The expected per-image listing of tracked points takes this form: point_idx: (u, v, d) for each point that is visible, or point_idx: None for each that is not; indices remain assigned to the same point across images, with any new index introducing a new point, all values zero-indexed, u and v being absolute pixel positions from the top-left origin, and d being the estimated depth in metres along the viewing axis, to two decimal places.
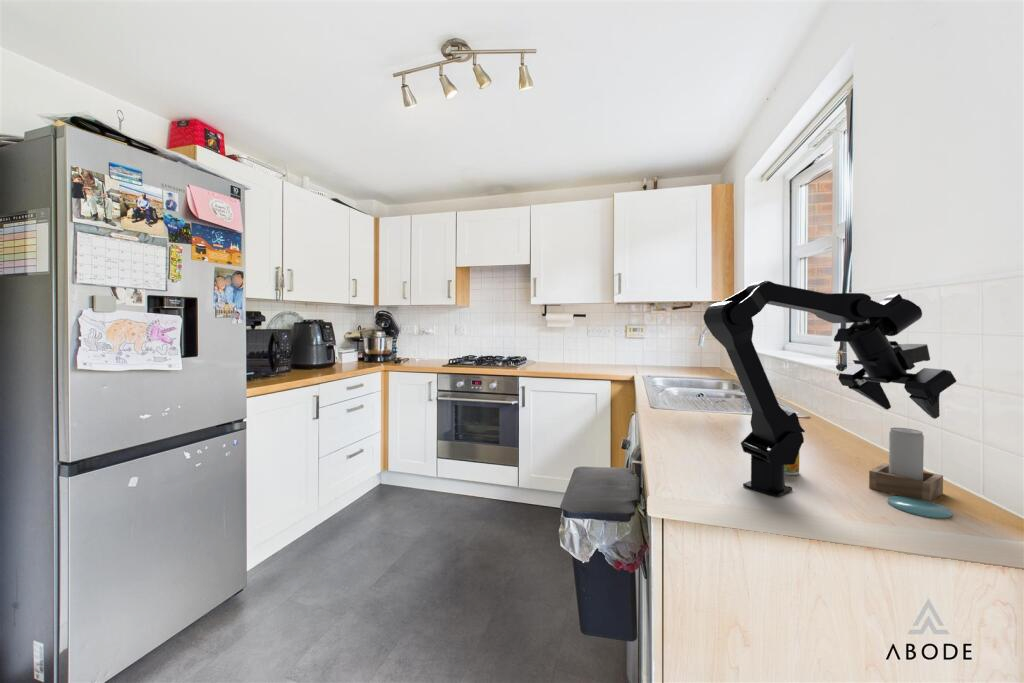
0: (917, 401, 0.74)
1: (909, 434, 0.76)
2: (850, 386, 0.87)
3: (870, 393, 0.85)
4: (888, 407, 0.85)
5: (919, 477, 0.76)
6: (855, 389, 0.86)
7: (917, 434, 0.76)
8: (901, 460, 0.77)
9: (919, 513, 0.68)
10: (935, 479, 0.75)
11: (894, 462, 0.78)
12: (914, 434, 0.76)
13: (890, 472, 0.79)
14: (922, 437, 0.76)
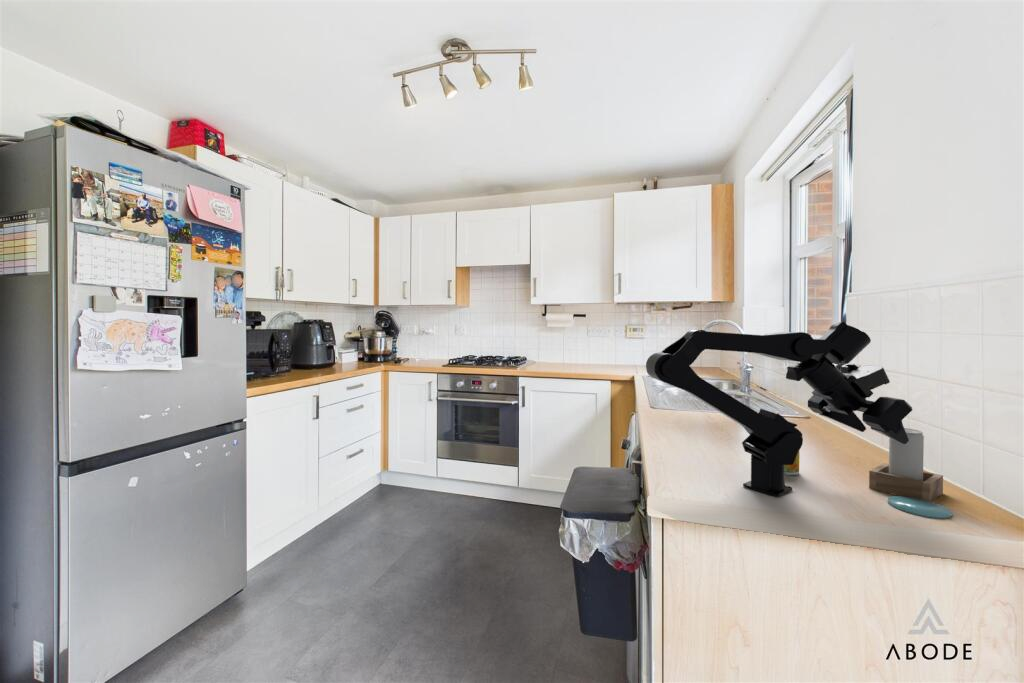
0: (879, 432, 0.73)
1: (909, 434, 0.76)
2: (820, 413, 0.85)
3: (841, 418, 0.83)
4: (863, 429, 0.83)
5: (919, 477, 0.76)
6: (825, 416, 0.85)
7: (917, 434, 0.76)
8: (901, 460, 0.77)
9: (919, 513, 0.68)
10: (935, 479, 0.75)
11: (894, 462, 0.78)
12: (914, 434, 0.76)
13: (890, 472, 0.79)
14: (922, 437, 0.76)
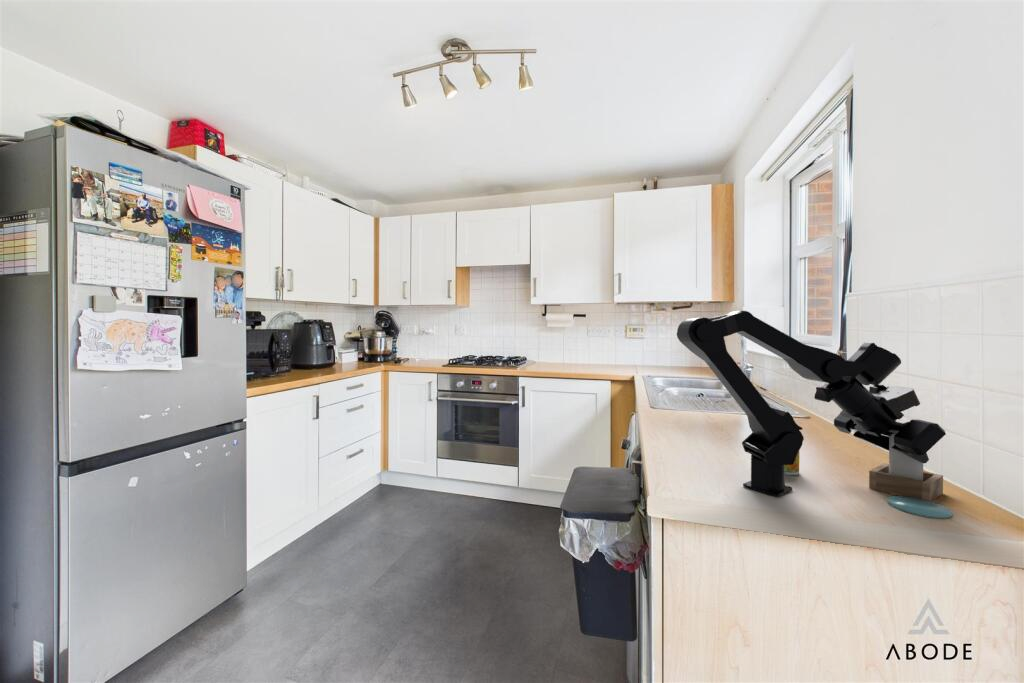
0: (900, 451, 0.74)
1: None
2: None
3: (877, 441, 0.81)
4: None
5: (919, 477, 0.76)
6: (860, 438, 0.82)
7: None
8: (901, 460, 0.77)
9: (919, 513, 0.68)
10: (935, 479, 0.75)
11: (894, 462, 0.78)
12: None
13: (890, 472, 0.79)
14: None
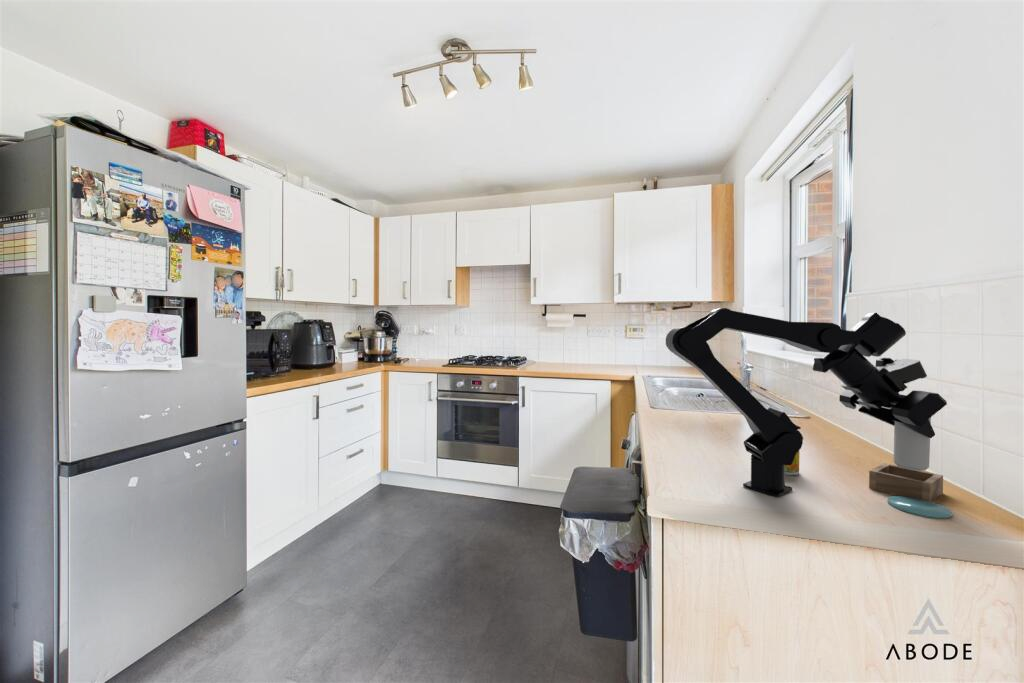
0: (901, 424, 0.72)
1: None
2: (852, 408, 0.83)
3: (882, 416, 0.79)
4: None
5: (924, 452, 0.73)
6: (865, 413, 0.80)
7: None
8: (905, 434, 0.74)
9: (919, 513, 0.68)
10: (935, 479, 0.75)
11: (898, 436, 0.75)
12: None
13: (894, 447, 0.76)
14: None
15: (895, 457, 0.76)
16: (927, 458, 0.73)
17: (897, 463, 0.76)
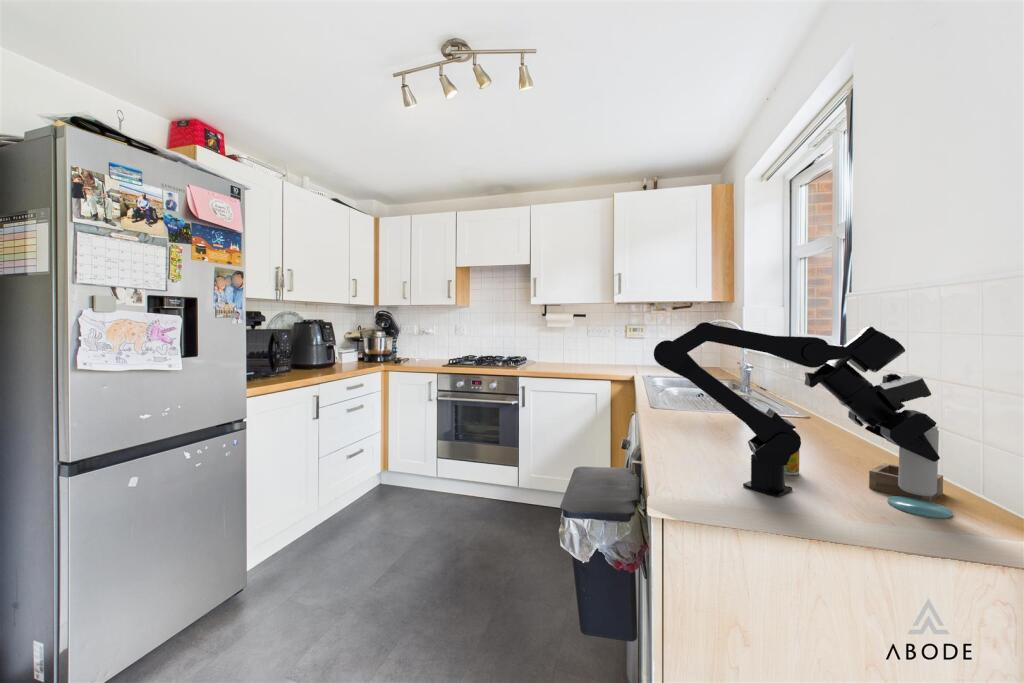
0: None
1: None
2: (860, 425, 0.79)
3: None
4: None
5: (928, 476, 0.68)
6: (870, 431, 0.76)
7: None
8: (907, 456, 0.70)
9: (919, 513, 0.68)
10: None
11: (901, 458, 0.71)
12: None
13: None
14: (934, 432, 0.68)
15: (898, 479, 0.72)
16: (932, 483, 0.68)
17: (900, 486, 0.71)
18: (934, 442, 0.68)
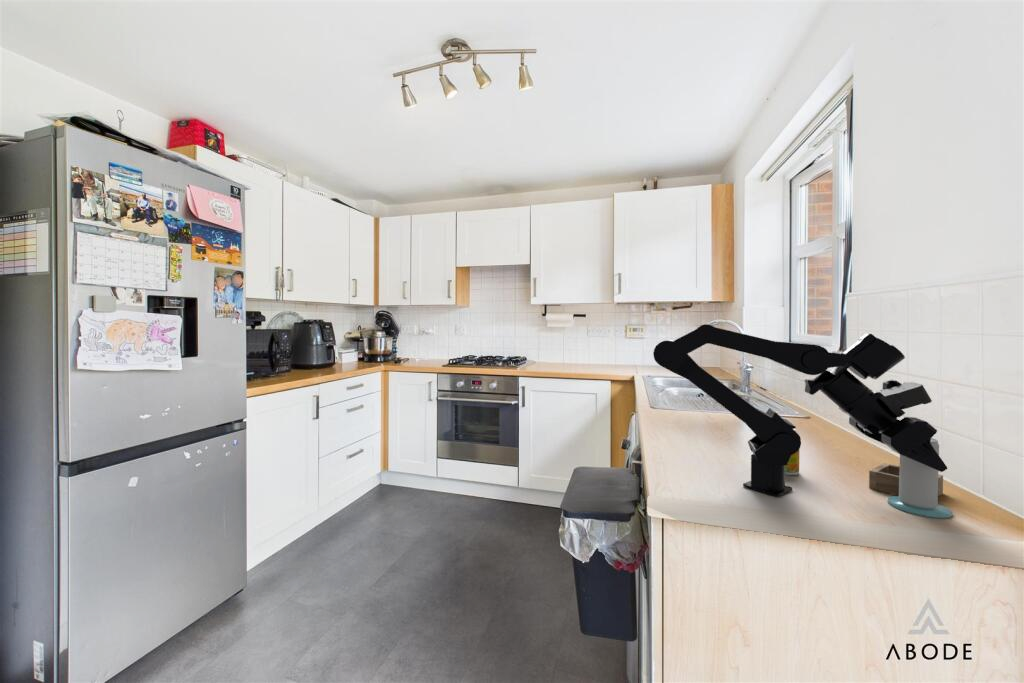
0: None
1: None
2: (861, 432, 0.79)
3: None
4: None
5: (929, 490, 0.68)
6: None
7: None
8: (907, 469, 0.70)
9: (919, 513, 0.68)
10: None
11: (901, 471, 0.71)
12: None
13: (899, 483, 0.72)
14: (934, 446, 0.68)
15: (899, 492, 0.72)
16: (932, 497, 0.68)
17: (901, 499, 0.71)
18: None
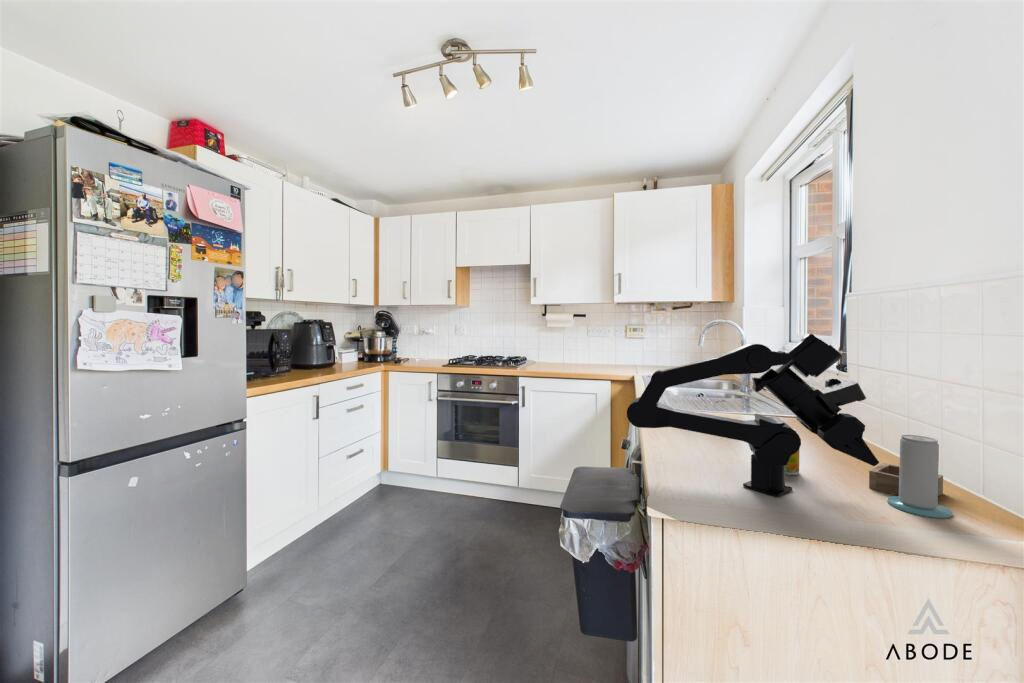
0: None
1: (916, 441, 0.69)
2: None
3: None
4: None
5: (928, 490, 0.68)
6: (811, 431, 0.81)
7: (926, 442, 0.68)
8: (907, 469, 0.70)
9: (919, 513, 0.68)
10: None
11: (901, 471, 0.71)
12: (922, 442, 0.68)
13: (899, 483, 0.72)
14: (934, 446, 0.68)
15: (899, 492, 0.72)
16: (932, 497, 0.68)
17: (900, 499, 0.71)
18: (934, 456, 0.68)
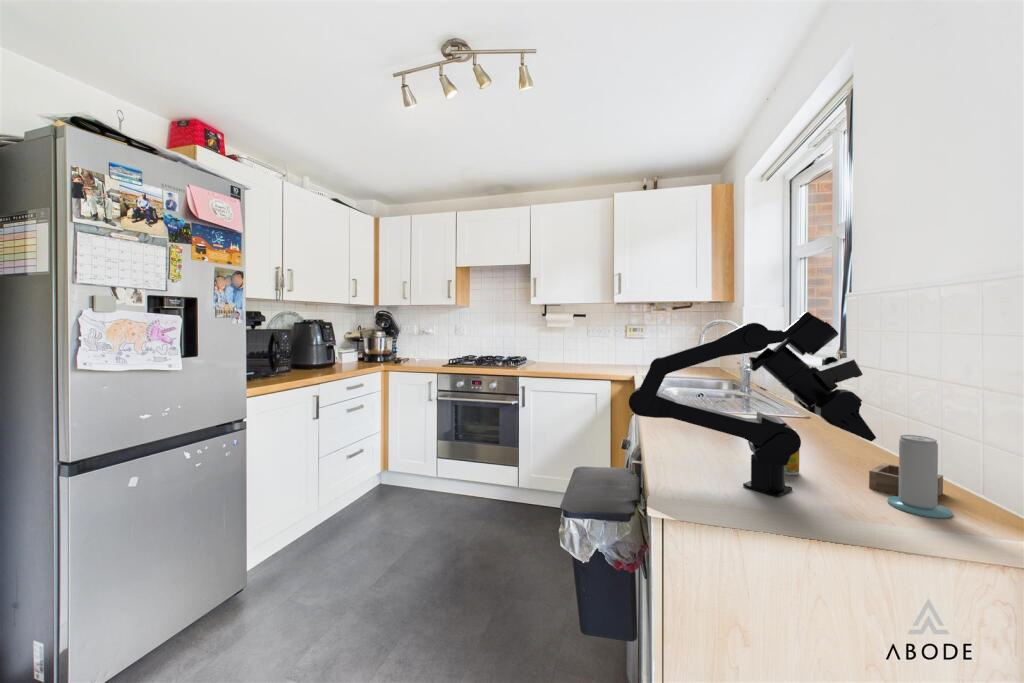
0: (833, 425, 0.70)
1: (915, 442, 0.69)
2: (804, 407, 0.82)
3: None
4: None
5: (928, 490, 0.68)
6: (808, 410, 0.82)
7: (925, 442, 0.68)
8: (907, 469, 0.70)
9: (919, 513, 0.68)
10: None
11: (901, 471, 0.71)
12: (921, 442, 0.69)
13: (899, 483, 0.72)
14: (933, 446, 0.68)
15: (899, 493, 0.72)
16: (932, 497, 0.68)
17: (900, 500, 0.71)
18: (933, 456, 0.68)
